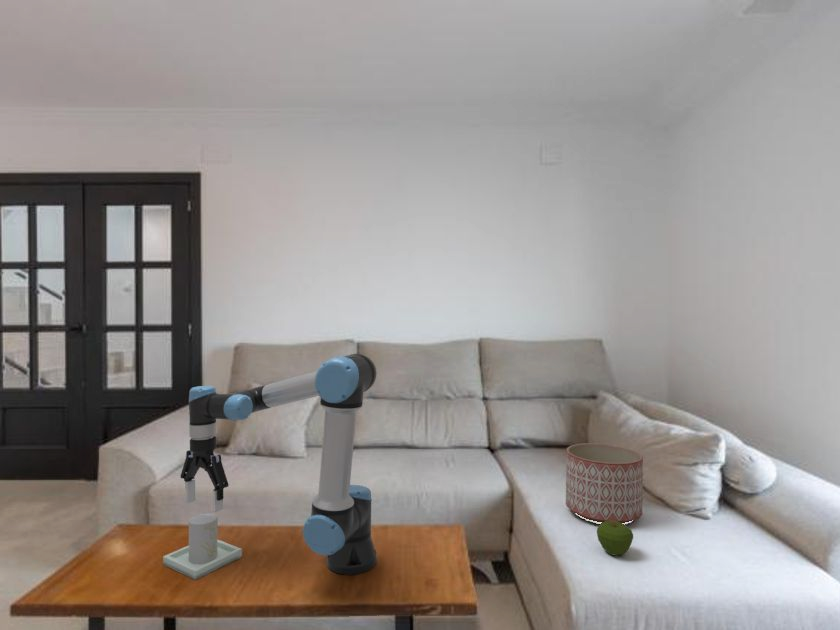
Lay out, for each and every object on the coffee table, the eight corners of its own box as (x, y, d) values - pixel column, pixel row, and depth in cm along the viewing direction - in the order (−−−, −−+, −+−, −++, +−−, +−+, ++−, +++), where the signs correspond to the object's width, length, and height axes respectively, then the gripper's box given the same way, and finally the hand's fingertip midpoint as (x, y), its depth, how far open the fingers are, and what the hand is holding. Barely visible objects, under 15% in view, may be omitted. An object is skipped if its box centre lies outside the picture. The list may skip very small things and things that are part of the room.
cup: (206, 565, 150) (206, 525, 150) (182, 562, 152) (182, 523, 151) (222, 552, 158) (222, 514, 158) (199, 549, 160) (199, 512, 159)
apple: (591, 553, 161) (591, 522, 161) (604, 542, 169) (605, 512, 169) (625, 565, 154) (625, 532, 154) (638, 553, 161) (638, 522, 161)
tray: (241, 556, 157) (241, 548, 157) (195, 580, 144) (195, 571, 144) (209, 543, 166) (209, 536, 166) (163, 564, 152) (163, 556, 152)
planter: (647, 510, 196) (648, 449, 196) (635, 536, 173) (636, 468, 173) (576, 495, 211) (577, 439, 211) (556, 518, 188) (557, 455, 188)
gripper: (240, 439, 151) (241, 509, 151) (189, 429, 164) (190, 494, 164) (218, 445, 144) (219, 518, 145) (167, 434, 158) (168, 502, 158)
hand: (204, 506), depth 154 cm, fingers open, 13 cm apart
